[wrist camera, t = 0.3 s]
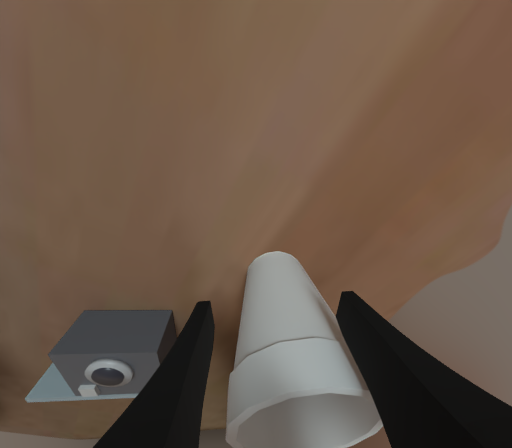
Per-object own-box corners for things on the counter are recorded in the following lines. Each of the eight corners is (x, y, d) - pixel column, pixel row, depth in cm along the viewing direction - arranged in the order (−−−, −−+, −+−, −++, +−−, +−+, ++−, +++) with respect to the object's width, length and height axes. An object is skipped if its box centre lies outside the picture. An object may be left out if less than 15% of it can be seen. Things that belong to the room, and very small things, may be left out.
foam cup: (282, 311, 26) (315, 464, 14) (218, 286, 23) (196, 450, 12) (331, 261, 22) (425, 407, 11) (263, 224, 20) (295, 367, 8)
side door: (177, 358, 28) (167, 396, 24) (59, 361, 27) (27, 402, 23) (177, 354, 28) (166, 392, 24) (56, 357, 26) (24, 398, 22)
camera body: (178, 349, 28) (164, 399, 23) (103, 351, 27) (71, 404, 22) (172, 310, 24) (154, 359, 19) (84, 310, 23) (41, 362, 18)
